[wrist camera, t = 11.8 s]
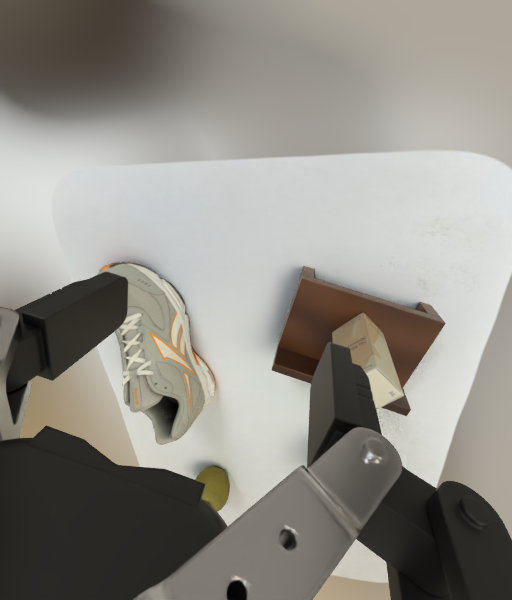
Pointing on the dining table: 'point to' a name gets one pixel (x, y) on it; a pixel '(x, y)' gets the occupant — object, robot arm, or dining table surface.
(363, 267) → the dining table surface
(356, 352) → the box
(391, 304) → the shelf
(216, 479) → the apple
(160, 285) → the running shoe
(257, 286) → the dining table surface
